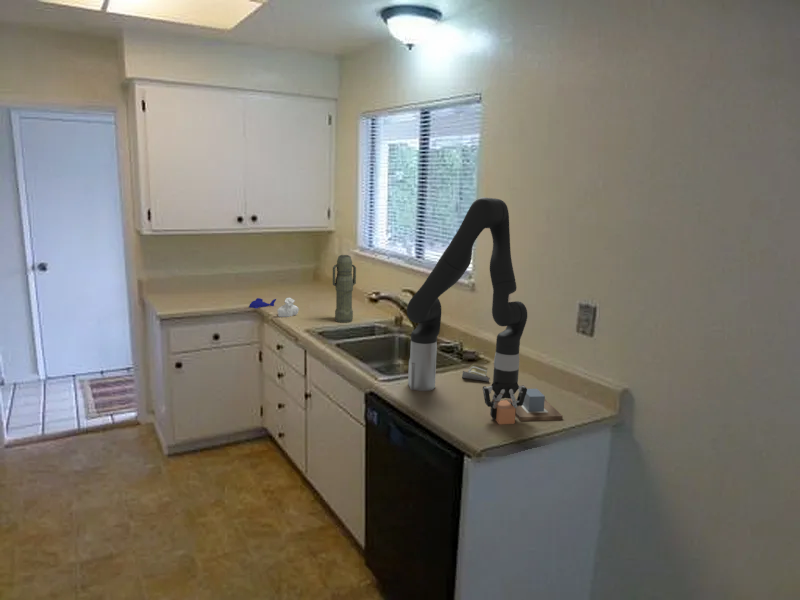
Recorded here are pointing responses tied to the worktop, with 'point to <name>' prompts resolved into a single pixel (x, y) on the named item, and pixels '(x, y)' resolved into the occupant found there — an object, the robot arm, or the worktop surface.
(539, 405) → the slate brick
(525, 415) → the plate
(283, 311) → the bust
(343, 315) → the thermos
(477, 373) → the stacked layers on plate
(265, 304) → the fish toy
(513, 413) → the terracotta brick
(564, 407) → the worktop surface
